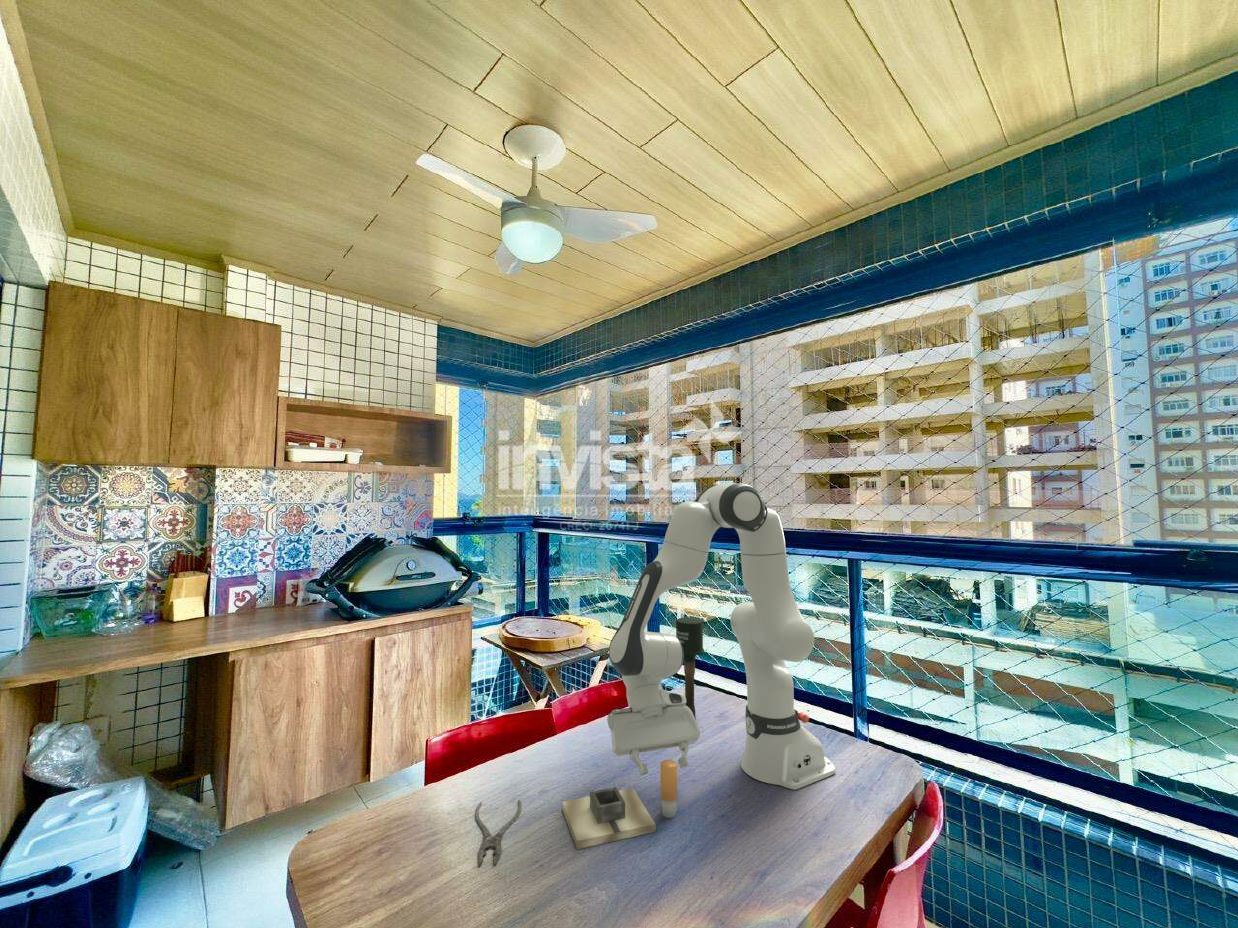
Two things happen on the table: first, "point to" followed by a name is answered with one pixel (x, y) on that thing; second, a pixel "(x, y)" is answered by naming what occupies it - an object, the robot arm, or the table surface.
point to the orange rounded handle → (668, 787)
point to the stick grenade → (690, 652)
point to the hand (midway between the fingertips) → (664, 770)
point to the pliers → (493, 840)
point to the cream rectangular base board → (606, 817)
